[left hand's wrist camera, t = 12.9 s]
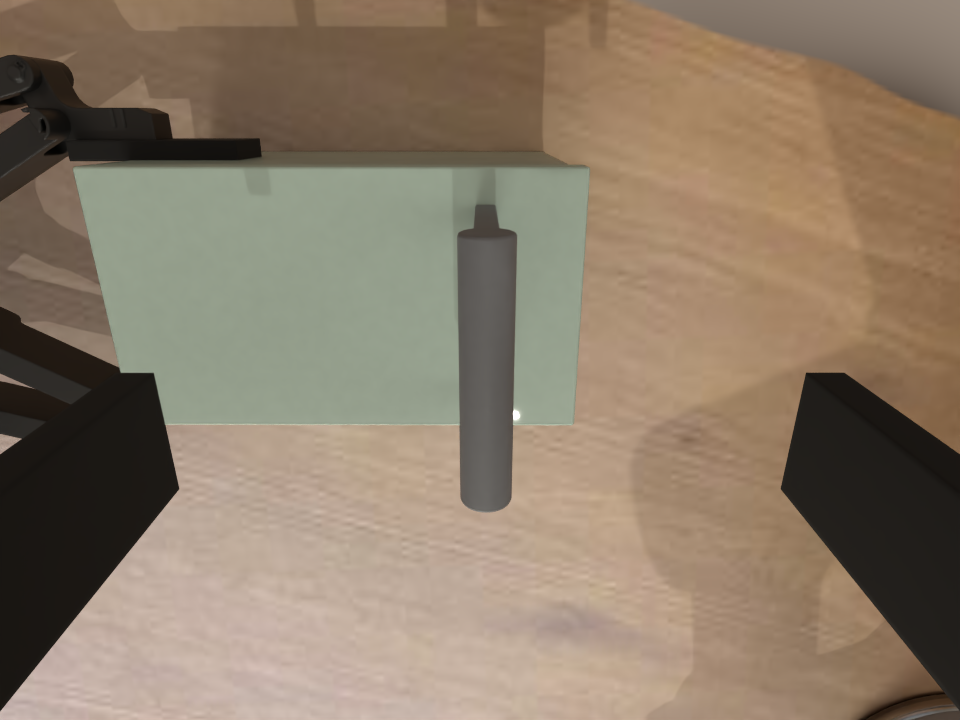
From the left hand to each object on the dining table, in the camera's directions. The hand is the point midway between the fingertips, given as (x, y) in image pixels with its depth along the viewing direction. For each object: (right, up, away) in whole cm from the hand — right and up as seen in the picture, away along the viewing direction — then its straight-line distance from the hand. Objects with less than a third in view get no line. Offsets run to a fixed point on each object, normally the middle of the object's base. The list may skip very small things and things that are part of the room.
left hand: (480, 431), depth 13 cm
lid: (-5, +4, +10) cm, 12 cm away
